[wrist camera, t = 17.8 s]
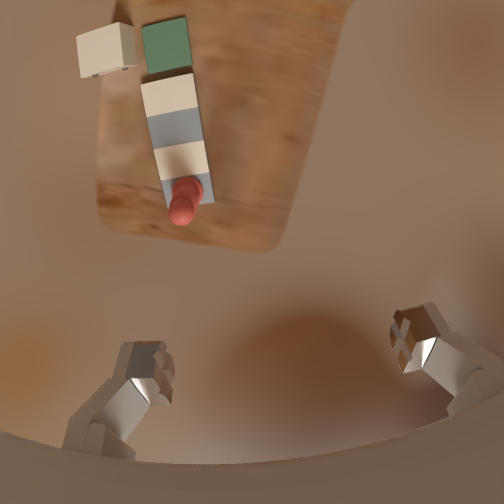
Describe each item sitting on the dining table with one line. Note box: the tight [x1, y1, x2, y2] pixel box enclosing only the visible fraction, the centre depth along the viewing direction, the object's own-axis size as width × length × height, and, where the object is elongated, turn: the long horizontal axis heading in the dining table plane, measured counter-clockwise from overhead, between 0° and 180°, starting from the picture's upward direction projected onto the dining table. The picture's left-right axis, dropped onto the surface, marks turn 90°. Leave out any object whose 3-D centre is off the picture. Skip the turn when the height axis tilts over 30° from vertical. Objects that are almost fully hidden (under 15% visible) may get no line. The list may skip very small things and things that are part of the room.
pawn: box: [168, 177, 204, 225], centre depth 34 cm, size 4×4×7 cm
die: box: [76, 22, 138, 78], centre depth 25 cm, size 6×5×5 cm
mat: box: [142, 17, 193, 74], centre depth 27 cm, size 6×5×1 cm
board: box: [141, 73, 215, 209], centre depth 34 cm, size 16×6×1 cm, turn 6°
